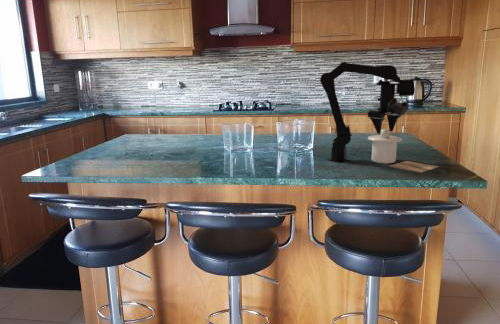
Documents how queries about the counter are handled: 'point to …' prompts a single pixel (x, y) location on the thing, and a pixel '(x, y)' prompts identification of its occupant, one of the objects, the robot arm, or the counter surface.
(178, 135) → the counter surface
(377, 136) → the lid
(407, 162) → the trivet
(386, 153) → the cup
